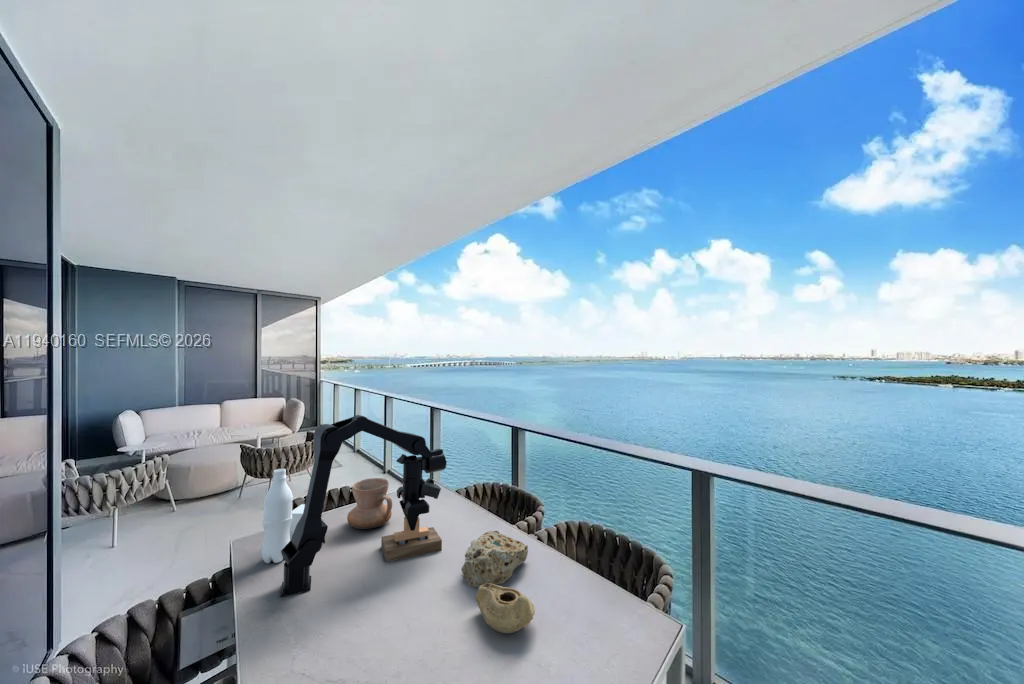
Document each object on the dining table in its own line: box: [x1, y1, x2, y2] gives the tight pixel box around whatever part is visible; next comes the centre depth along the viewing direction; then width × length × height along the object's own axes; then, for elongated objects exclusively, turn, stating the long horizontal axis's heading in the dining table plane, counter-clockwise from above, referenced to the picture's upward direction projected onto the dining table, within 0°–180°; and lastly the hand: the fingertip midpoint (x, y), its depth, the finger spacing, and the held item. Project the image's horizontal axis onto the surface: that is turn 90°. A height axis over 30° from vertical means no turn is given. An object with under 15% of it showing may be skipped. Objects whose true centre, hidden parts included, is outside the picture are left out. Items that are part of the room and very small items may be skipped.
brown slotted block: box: [380, 526, 443, 563], centre depth 116 cm, size 10×16×3 cm, turn 116°
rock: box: [461, 530, 529, 589], centre depth 104 cm, size 21×14×10 cm
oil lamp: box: [475, 583, 536, 634], centre depth 83 cm, size 11×15×8 cm
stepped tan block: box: [393, 516, 429, 545], centre depth 116 cm, size 3×10×8 cm, turn 116°
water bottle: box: [261, 468, 294, 564], centre depth 110 cm, size 7×7×25 cm
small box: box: [290, 503, 305, 540], centre depth 119 cm, size 8×6×10 cm
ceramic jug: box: [346, 477, 393, 530], centre depth 133 cm, size 18×14×14 cm
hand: (411, 528), depth 116 cm, fingers closed on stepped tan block, 3 cm apart
